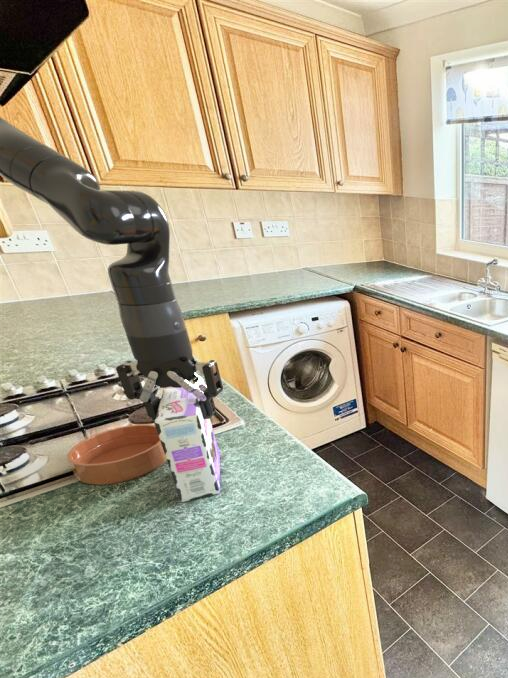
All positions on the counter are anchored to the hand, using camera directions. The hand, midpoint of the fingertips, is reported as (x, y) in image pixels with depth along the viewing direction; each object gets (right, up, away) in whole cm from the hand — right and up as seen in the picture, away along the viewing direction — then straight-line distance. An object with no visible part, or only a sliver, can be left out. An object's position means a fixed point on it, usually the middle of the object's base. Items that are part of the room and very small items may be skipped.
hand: (184, 417), depth 73 cm
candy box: (-1, -12, +6) cm, 13 cm away
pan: (-17, -9, +8) cm, 21 cm away
